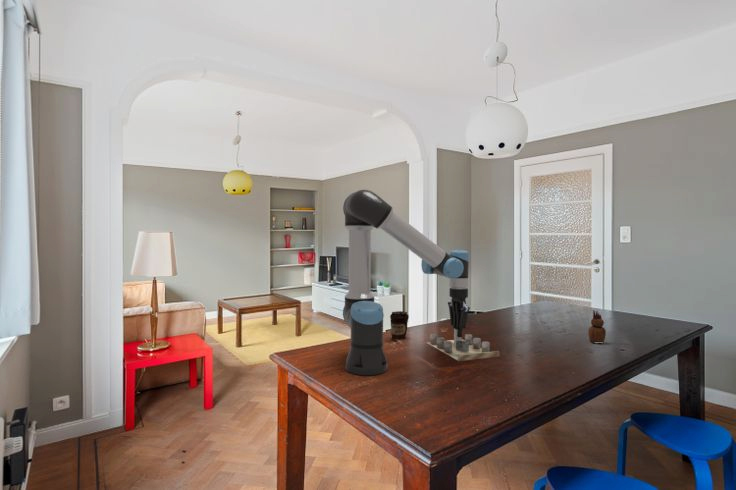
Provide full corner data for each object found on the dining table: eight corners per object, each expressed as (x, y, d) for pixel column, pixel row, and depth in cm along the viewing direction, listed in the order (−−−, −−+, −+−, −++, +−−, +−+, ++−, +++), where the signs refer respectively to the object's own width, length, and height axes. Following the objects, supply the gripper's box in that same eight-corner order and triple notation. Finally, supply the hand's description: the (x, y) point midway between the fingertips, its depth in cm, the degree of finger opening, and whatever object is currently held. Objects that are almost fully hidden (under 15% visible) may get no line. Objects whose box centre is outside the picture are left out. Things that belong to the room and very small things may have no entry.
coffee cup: (407, 344, 177) (407, 314, 177) (388, 342, 179) (388, 313, 179) (409, 338, 186) (409, 310, 185) (391, 337, 188) (391, 310, 187)
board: (458, 365, 150) (459, 350, 150) (426, 345, 175) (426, 333, 175) (499, 360, 156) (499, 346, 156) (462, 342, 181) (462, 330, 181)
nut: (459, 352, 161) (459, 344, 161) (452, 348, 166) (452, 341, 166) (471, 350, 163) (472, 343, 163) (464, 347, 168) (465, 340, 168)
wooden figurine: (590, 344, 180) (591, 310, 179) (586, 340, 186) (587, 308, 185) (607, 345, 178) (608, 311, 178) (602, 341, 184) (603, 309, 183)
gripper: (475, 289, 162) (474, 347, 163) (457, 285, 174) (456, 339, 175) (459, 290, 159) (458, 349, 160) (442, 285, 171) (441, 340, 172)
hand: (457, 344), depth 168 cm, fingers closed
